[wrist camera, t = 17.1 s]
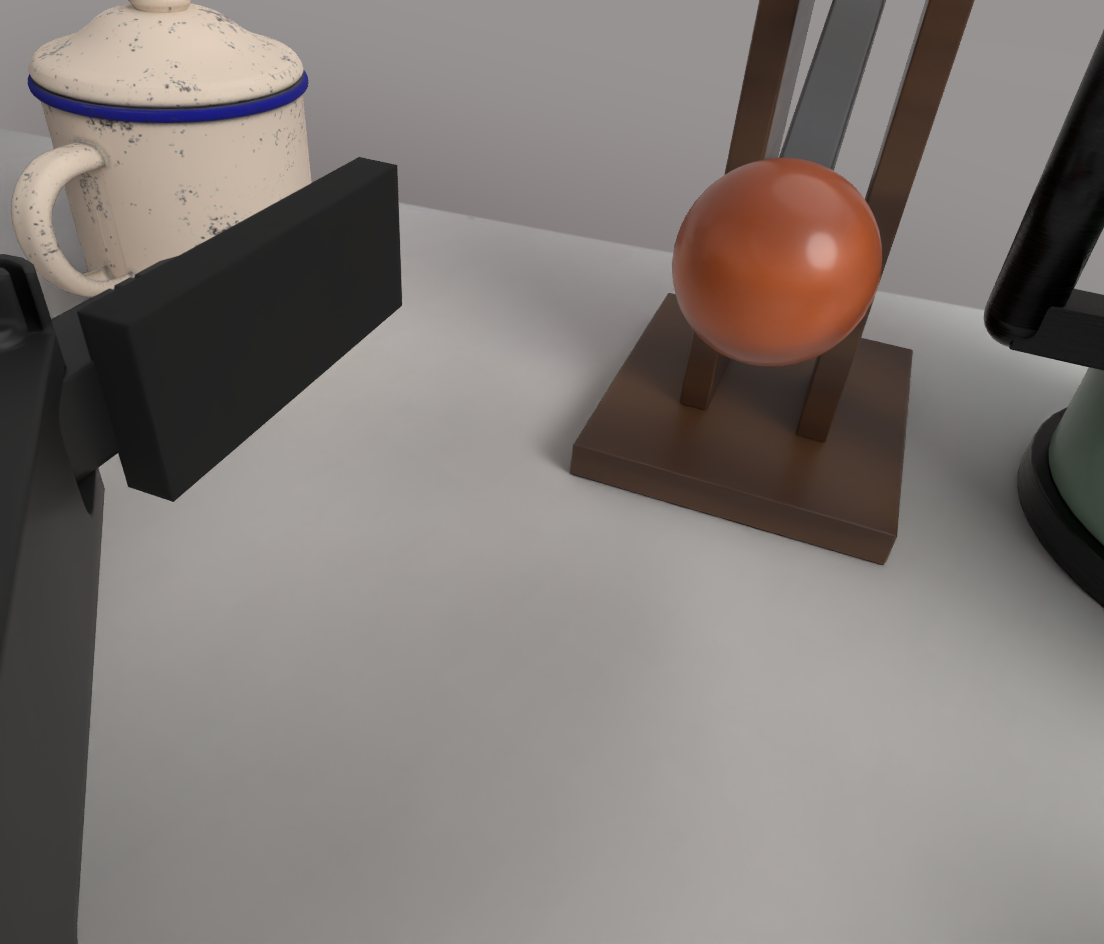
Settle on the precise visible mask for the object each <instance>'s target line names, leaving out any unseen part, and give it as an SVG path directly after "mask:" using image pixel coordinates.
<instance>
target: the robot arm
mask: <svg viewBox="0 0 1104 944" xmlns="http://www.w3.org/2000/svg"><path fill="white" fill-rule="evenodd" d="M401 306H402V288H401V260H400V232H399V204H398V176H397V165H394V164H389V163H385V162H380V161H375V160H370V159H366V158H361V157H358V158H356V159H355V160H353V161H351V162H349V163H347V164H346V165H344V166H342V167H340V168H338V169H336V170H335V171H333V172H331V173H329V174H327V175H326V176H324V177H322V178H320V179H318V180H316V181H314V182H313V183H311V184H309V185H307V186H305V187H303V188H302V189H300V190H298V191H296V192H294V193H292V194H291V195H289V196H287V197H285V198H283V199H281V200H280V201H278V202H276V203H274V204H272V205H270V206H269V207H267V208H265V209H263V210H261V211H259V212H258V213H256V214H254V215H252V216H250V217H249V218H247V219H245V220H243V221H241V222H239V223H238V224H236V225H234V226H232V227H230V228H228V229H227V230H225V231H223V232H221V233H219V234H217V235H216V236H214V237H212V238H210V239H208V240H206V241H205V242H203V243H201V244H199V245H197V246H195V247H194V248H192V249H190V250H188V251H186V252H184V253H183V254H181V255H179V256H176V257H172V258H168V259H165V260H161V261H159V262H157V263H155V264H153V265H152V266H150V267H148V268H146V269H144V270H142V271H140V272H139V273H137V274H135V277H134V278H131V277H129V278H127V279H126V280H124V281H122V282H120V283H118V284H116V285H114V289H110V288H109V289H107V290H105V291H103V292H102V293H100V294H98V295H96V296H94V297H92V298H90V299H89V300H87V301H85V302H83V303H81V304H79V305H77V306H76V307H74V308H72V309H70V310H68V311H66V312H65V313H63V314H61V315H59V316H57V317H55V318H53V319H52V320H51V317H50V314H49V311H48V308H47V305H46V302H45V299H44V295H43V292H42V289H41V286H40V283H39V280H38V276H37V273H36V270H35V267H34V264H32V263H31V262H29V261H27V260H25V259H24V258H21V257H16V256H10V255H5V254H0V944H78V940H77V919H78V903H79V887H80V871H81V855H82V839H83V824H84V808H85V792H86V776H87V760H88V744H89V728H90V712H91V696H92V681H93V665H94V649H95V633H96V617H97V601H98V585H99V569H100V554H101V538H102V522H103V506H104V490H105V488H104V485H103V482H102V479H101V475H100V472H99V469H98V467H100V466H101V465H102V464H104V463H105V462H106V461H108V460H109V459H110V458H112V457H113V456H114V455H116V454H117V453H118V454H119V457H120V460H121V464H122V467H123V471H124V474H125V477H126V481H127V484H128V487H130V488H133V489H136V490H139V491H142V492H145V493H148V494H151V495H154V496H157V497H160V498H163V499H166V500H169V501H172V502H174V501H175V500H176V499H177V498H178V497H180V496H181V495H182V494H183V493H184V492H185V491H187V490H188V489H189V488H190V487H191V486H192V485H194V484H195V483H196V482H197V481H198V480H199V479H201V478H202V477H203V476H204V475H205V474H206V473H208V472H209V471H210V470H211V469H212V468H213V467H215V466H216V465H217V464H218V463H219V462H220V461H222V460H223V459H224V458H225V457H226V456H227V455H229V454H230V453H231V452H232V451H233V450H234V449H236V448H237V447H238V446H239V445H240V444H241V443H243V442H244V441H245V440H246V439H247V438H248V437H249V436H251V435H252V434H253V433H254V432H255V431H256V430H258V429H259V428H260V427H261V426H262V425H263V424H265V423H266V422H267V421H268V420H269V419H270V418H272V417H273V416H274V415H275V414H276V413H277V412H279V411H280V410H281V409H282V408H283V407H284V406H286V405H287V404H288V403H289V402H290V401H291V400H293V399H294V398H295V397H296V396H297V395H298V394H300V393H301V392H302V391H303V390H304V389H305V388H307V387H308V386H309V385H310V384H311V383H312V382H314V381H315V380H316V379H317V378H318V377H319V376H321V375H322V374H323V373H324V372H325V371H326V370H328V369H329V368H330V367H331V366H332V365H333V364H334V363H336V362H337V361H338V360H339V359H340V358H341V357H343V356H344V355H345V354H346V353H347V352H348V351H350V350H351V349H352V348H353V347H354V346H355V345H357V344H358V343H359V342H360V341H361V340H362V339H364V338H365V337H366V336H367V335H368V334H369V333H371V332H372V331H373V330H374V329H375V328H376V327H378V326H379V325H380V324H381V323H382V322H383V321H385V320H386V319H387V318H388V317H389V316H390V315H392V314H393V313H394V312H395V311H396V310H397V309H399V308H400V307H401Z"/></svg>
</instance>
